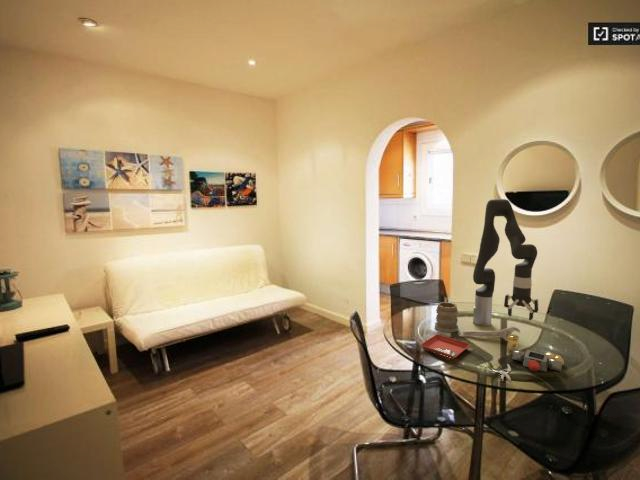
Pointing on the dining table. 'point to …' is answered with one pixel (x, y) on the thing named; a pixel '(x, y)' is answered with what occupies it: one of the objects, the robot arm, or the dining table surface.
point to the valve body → (536, 360)
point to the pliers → (504, 373)
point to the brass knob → (512, 342)
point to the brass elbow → (555, 357)
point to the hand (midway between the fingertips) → (520, 317)
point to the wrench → (490, 333)
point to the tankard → (446, 317)
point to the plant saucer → (445, 345)
